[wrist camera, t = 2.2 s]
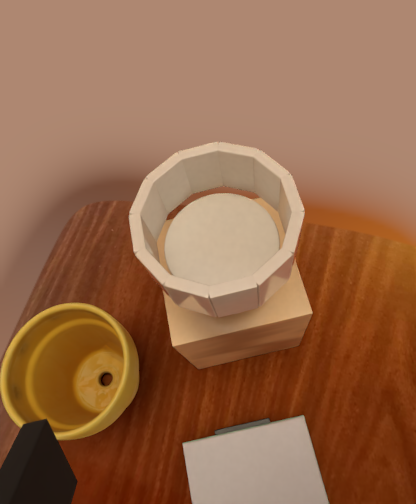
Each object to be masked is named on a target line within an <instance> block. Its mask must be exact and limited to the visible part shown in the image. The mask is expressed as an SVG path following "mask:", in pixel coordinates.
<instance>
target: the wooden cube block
mask: <svg viewBox="0 0 416 504" xmlns="http://www.w3.org/2000/svg"><path fill="white" fill-rule="evenodd" d="M251 200H253V201H255V202H257V203H258V204H259V205H261V206H262V207H263V208H264V209H265V210H266V211H267V212H268V213H269V214H270V216H271V217H272V218H273V220H274V222H275V224H276V226H277V229H278V233H279V239H280V249H281V248H282V245H283V241H284V238H285V232H284V229H283V226H282V223H281V220H280V217H279V213H278V212H277V211H276V210H275V209H274V208H272V207H271V206H270V205H269V204H268V203H267V202H265V201H264V200H263V199H262V198H261V197H259V198H255V199H251ZM173 220H174V219H171V220H167V221H165V223H164V225H163V228H162V230H161V233H160V235H159V238H158V240H157V248H158V253H159V259H160V264H161V265H162V266H163V267H164V268H165V269H166V271H167V272H168V273H169V274H170V275H172V274H171V272H170V270H169V268H168V266H167V263H166V259H165V253H164V243H165V238H166V234H167V231H168V229H169V227H170V224H171V223H172V221H173ZM163 294H164V299H165V305H166V311H167V317H168V323H169V329H170V335H171V341H172V346H173V347H174V348H175V349H176V350H177V351H178V352H179V353H180V354H182V355H183V356H184V357H185V358H186V359H187V360H188V361H189V362H191V363H192V364H193V365H194V366H195V367H196V368H197V369H202V368H207V367H211V366H215V365H219V364H224V363H228V362H232V361H236V360H241V359H245V358H249V357H253V356H258V355H262V354H266V353H270V352H275V351H279V350H283V349H287V348H292V347H296V346H299V344H300V342H301V340H302V337H303V335H304V333H305V330H306V328H307V325H308V323H309V321H310V318H311V316H312V314H313V312H312V309H311V306H310V303H309V300H308V297H307V294H306V291H305V288H304V285H303V282H302V279H301V276H300V273H299V270H298V267H297V264H296V261H294V265H293V269H292V272H291V276H290V278H289V280H288V281H287V282H286V283H285V284H284V285H283V286H282V287H281V288H280V289H279V290H278V291H277V292H276V293H274V294H273V295H272V296H271V297H270V298H269V299H268V300H267V301H266V302H265V303H264V304H263V305H262V306H261V307H259V306H258V308H256V309H252V310H248V311H244V312H241V313H238V314H232V315H227V316H223V317H218V316H217V317H213V316H209V315H206V314H202V313H199V312H195V311H192V310H189V309H185V308H182V307H179V306H178V305H176V304H175V303H174V302H173V301H172V300H171V299H170V298H169V296H168V295H167V294H166V293H165V292H164V291H163Z"/></svg>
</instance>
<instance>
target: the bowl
mask: <svg viewBox="0 0 416 504" xmlns="http://www.w3.org/2000/svg"><path fill="white" fill-rule="evenodd" d="M222 186H225V187H230V188H235V189H240V190H245V191H250V192H254V193H256V194H257V195H258V196H259V197H261V198H262V199H263V200H264V201H265V202H267V203H268V204H269V205H270V206H271V207H272V208H274V209H275V210H276V211H277V212H278V213H279V217H280V220H281V223H282V226H283V229H284V232H285V238H284V241H283V245H282V248H281V249H280V239H279V233H278V229H277V226H276V224H275V222H274V220H273V218H272V217H271V216H270V214H269V213H268V212H267V211H266V210H265V209H264V208H263V207H262V206H261V205H259V204H258V203H257V202H255V201H253V200H251V199H249V198H247V197H244V196H240V195H237V194H230V193H220V194H213V195H208V196H205V197H202V198H199V199H197V200H195V201H193V202H192V203H190V204H189V205H187V206H186V207H185V208H183V209H182V210H181V211H180V212H179V213H178V214H177V216H176V217H175V218H174V220H173V221H172V223H171V224H170V227H169V229H168V231H167V234H166V238H165V243H164V253H165V259H166V263H167V266H168V268H169V270H170V272H171V274H172V275H170V274H169V273H168V272H167V271H166V269H165V268H164V267H163V266H162V265H161V264H160V259H159V253H158V248H157V240H158V238H159V235H160V233H161V230H162V228H163V225H164V223H165V220H166V218H167V215H168V214H169V213H170V212H171V211H173V210H174V209H175V208H176V207H177V206H179V205H180V204H181V203H182V202H183V201H184V200H186V199H187V198H188V197H189V196H190V195H192V194H194V193H198V192H202V191H206V190H210V189H214V188H218V187H222ZM304 211H305V210H304V207H303V204H302V202H301V199H300V196H299V194H298V190H297V188H296V185H295V182H294V179H293V177H292V175H291V174H290V172H288V171H287V170H286V169H285V168H283V167H282V166H281V165H279V164H278V163H277V162H276V161H274V160H273V159H272V158H270V157H269V156H268V155H266V154H265V153H264V152H263V151H261V150H258V149H257V148H252V147H247V146H241V145H236V144H230V143H224V142H219V143H217V142H213V143H209V144H205V145H201V146H198V147H193V148H190V149H186V150H182V151H179V152H178V153H175V154H173V155H172V156H171V157H170V158H168V159H167V160H166V161H165V162H163V163H162V164H161V165H160V166H158V167H157V168H156V169H155V170H154V171H152V172H151V173H150V174H148V175H147V176H146V179H144V180H143V182H142V185H141V187H140V189H139V191H138V194H137V196H136V198H135V201H134V203H133V205H132V207H131V210H130V212H129V214H130V215H129V223H130V230H131V237H132V244H133V251H134V253H135V256H136V257H137V259H138V260H139V261H140V263H141V264H142V265H143V267H144V268H145V269H146V271H147V272H148V273H149V275H150V276H151V277H152V279H153V280H154V281H155V282H156V283H157V284H158V285H159V286H160V288H161V289H162V290H163V291H164V292H165V293H166V294H167V295H168V296H169V298H170V299H171V300H172V301H173V302H174V303H175V304H176V305H178V306H179V307H182V308H185V309H189V310H192V311H195V312H199V313H202V314H206V315H209V316H213V317H217V316H218V317H223V316H227V315H232V314H238V313H241V312H244V311H248V310H252V309H256V308H258V306H259V307H261V306H262V305H263V304H264V303H265V302H266V301H267V300H268V299H269V298H270V297H271V296H272V295H273V294H274V293H276V292H277V291H278V290H279V289H280V288H281V287H282V286H283V285H284V284H285V283H286V282H287V281H288V280H289V278H290V276H291V272H292V269H293V265H294V261H295V257H296V253H297V250H298V246H299V241H300V236H301V231H302V225H303V220H304V215H305V213H304Z"/></svg>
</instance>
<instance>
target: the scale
mask: <svg viewBox="0 0 416 504" xmlns="http://www.w3.org/2000/svg"><path fill="white" fill-rule="evenodd" d="M183 450H184V457H185V463H186V469H187V475H188V481H189V487H190V494H191V500H192V504H329V501H328V498H327V494H326V491H325V487H324V484H323V480H322V477H321V473H320V470H319V466H318V463H317V459H316V456H315V452H314V449H313V446H312V442H311V439H310V435H309V432H308V428H307V425H306V421H305V418H304V415H301V416H297V417H293V418H288V419H284V420H280V421H275V422H271V423H270V419H269V418H266V419H262V420H258V421H253V422H249V423H245V424H240V425H236V426H232V427H227V428H223V429H218V430H215V435H214V436H210V437H206V438H201V439H197V440H193V441H188V442H184V443H183Z"/></svg>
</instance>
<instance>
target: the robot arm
mask: <svg viewBox="0 0 416 504" xmlns="http://www.w3.org/2000/svg"><path fill="white" fill-rule="evenodd" d="M76 484H77V480H76V478H75V475H74V473H73V471H72V469H71V467H70V465H69V463H68V461H67V459H66V457H65V455H64V453H63V451H62V449H61V447H60V445H59V443H58V441H57V438H56V436H55V434H54V432H53V430H52V428H51V426H50V424H49V422H48V420H47V419H43V420H38V421H34V422H30V423H26V424H23V425H22V427H21V429H20V431H19V433H18V435H17V437H16V439H15V441H14V443H13V445H12V447H11V449H10V451H9V453H8V455H7V457H6V459H5V461H4V463H3V465H2V467H1V469H0V504H71V502H72V499H73V495H74V492H75V488H76Z"/></svg>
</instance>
